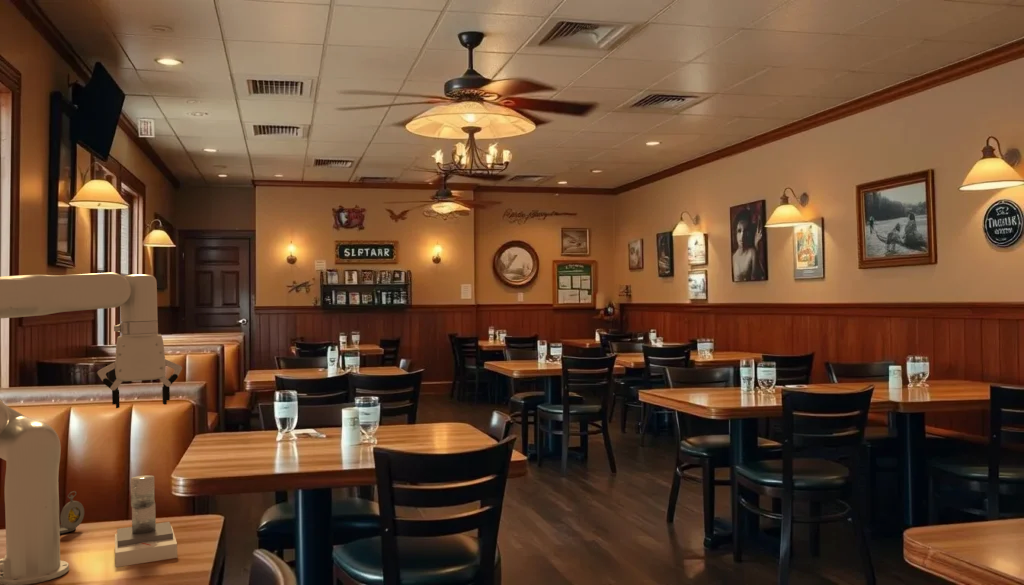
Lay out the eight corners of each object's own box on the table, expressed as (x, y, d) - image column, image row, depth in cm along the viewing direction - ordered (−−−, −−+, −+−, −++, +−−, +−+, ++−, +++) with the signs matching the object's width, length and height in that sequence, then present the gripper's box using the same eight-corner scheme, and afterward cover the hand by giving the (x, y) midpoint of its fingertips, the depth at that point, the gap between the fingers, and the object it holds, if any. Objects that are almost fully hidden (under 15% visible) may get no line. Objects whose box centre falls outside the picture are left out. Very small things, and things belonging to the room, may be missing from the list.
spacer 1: (131, 508, 178) (130, 480, 178) (130, 503, 182) (130, 476, 182) (155, 505, 180) (154, 478, 180) (154, 501, 184) (153, 474, 184)
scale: (115, 567, 170) (115, 547, 170) (115, 547, 184) (114, 528, 184) (177, 557, 175) (176, 538, 175) (172, 538, 190) (171, 520, 190)
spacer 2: (127, 533, 179) (127, 506, 180) (140, 527, 184) (140, 501, 184) (147, 534, 179) (147, 507, 179) (159, 528, 183) (159, 501, 184)
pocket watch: (49, 529, 201) (48, 489, 201) (86, 525, 203) (85, 485, 203) (40, 538, 193) (39, 496, 193) (80, 534, 195) (79, 493, 195)
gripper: (96, 331, 175) (98, 411, 174) (182, 328, 182) (184, 404, 182) (96, 330, 181) (98, 407, 181) (179, 327, 189) (181, 400, 189)
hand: (141, 405), depth 182 cm, fingers open, 9 cm apart
